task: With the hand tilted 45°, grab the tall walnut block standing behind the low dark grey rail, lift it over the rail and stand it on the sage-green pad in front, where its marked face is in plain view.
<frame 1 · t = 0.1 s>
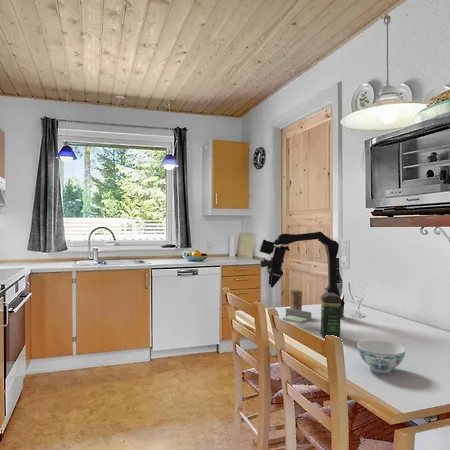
hand: (270, 286, 209), 15 cm above the table, tool pointing down, fingers open, 9 cm apart
walnut block: (295, 315, 211), on the table
green pad: (295, 320, 200), on the table
chinaware: (380, 370, 134), on the table
coffee jar: (330, 337, 172), on the table
grey rail: (298, 318, 205), on the table
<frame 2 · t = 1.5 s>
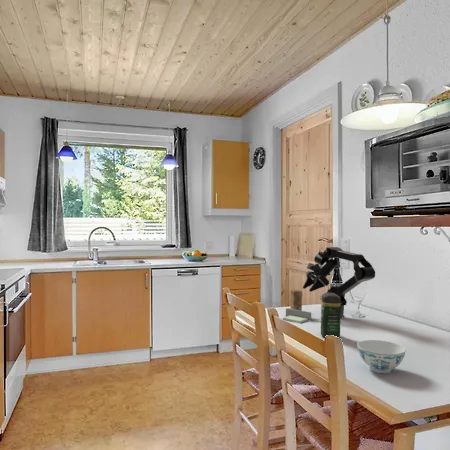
hand: (306, 289, 212), 14 cm above the table, tool tilted 45°, fingers open, 9 cm apart
nothing on the table moved.
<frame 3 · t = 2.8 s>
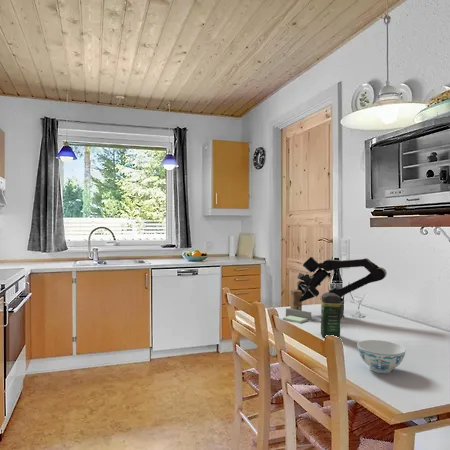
hand: (296, 299, 211), 8 cm above the table, tool tilted 45°, fingers open, 9 cm apart
nothing on the table moved.
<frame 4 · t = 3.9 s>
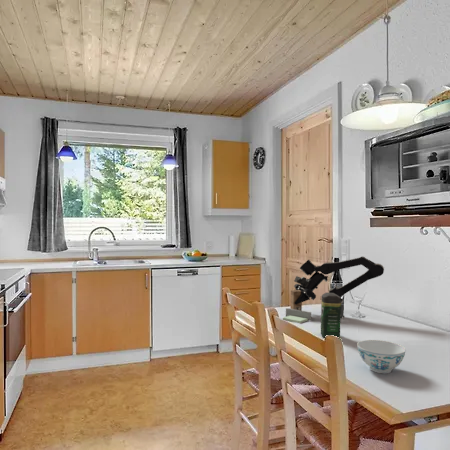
hand: (293, 302, 210), 7 cm above the table, tool tilted 45°, fingers closed on walnut block, 4 cm apart
walnut block: (295, 315, 211), on the table, touching gripper
everything else where it was.
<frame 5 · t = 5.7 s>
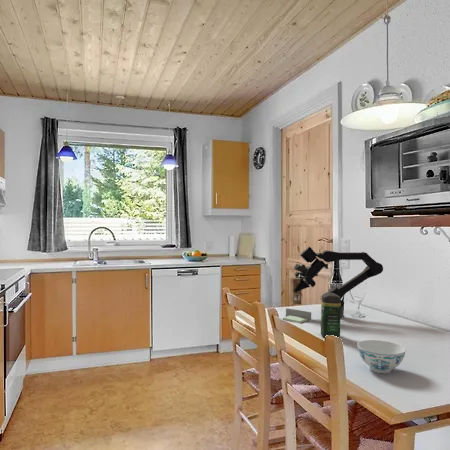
hand: (293, 290, 208), 13 cm above the table, tool tilted 45°, fingers closed on walnut block, 4 cm apart
walnut block: (295, 303, 208), point 7 cm above the table, touching gripper
everything else where it was.
when the fingers open (9 cm above the table, at t = 7.7 s): walnut block drops 1 cm, resting on green pad.
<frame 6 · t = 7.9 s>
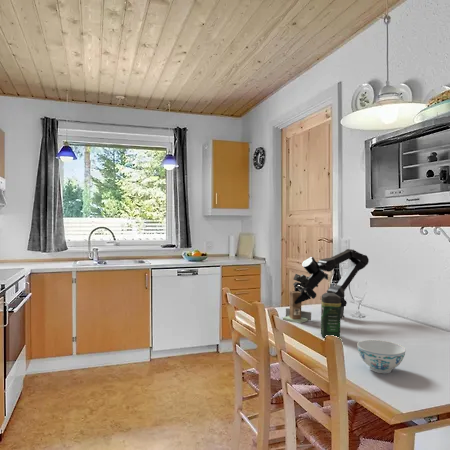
hand: (292, 302, 200), 9 cm above the table, tool tilted 45°, fingers open, 6 cm apart
walnut block: (295, 318, 200), point 1 cm above the table, touching green pad
everything else where it was.
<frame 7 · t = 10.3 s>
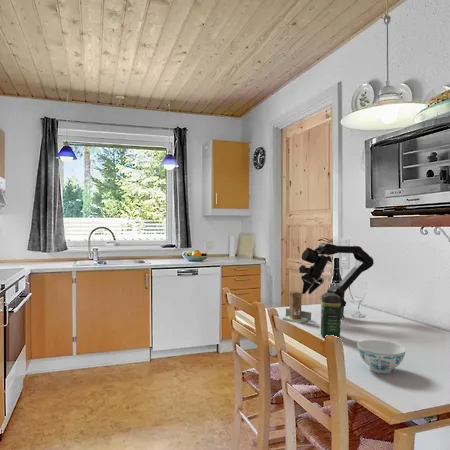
hand: (306, 293, 207), 12 cm above the table, tool tilted 25°, fingers open, 9 cm apart
nothing on the table moved.
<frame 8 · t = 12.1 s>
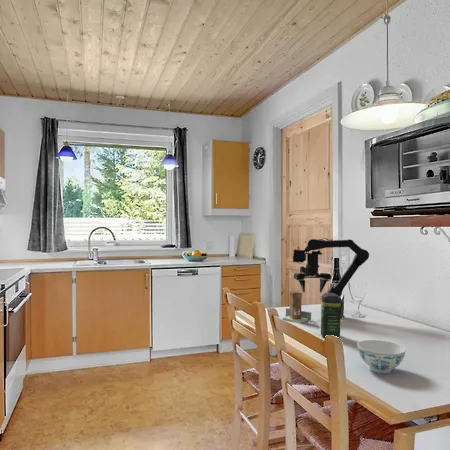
hand: (312, 292, 211), 12 cm above the table, tool pointing down, fingers open, 9 cm apart
nothing on the table moved.
at the end: walnut block inside the target area on the green pad (0.0 cm from its centre), point 1.0 cm above the green pad's base; walnut block tilted 0°; the gripper is holding nothing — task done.
